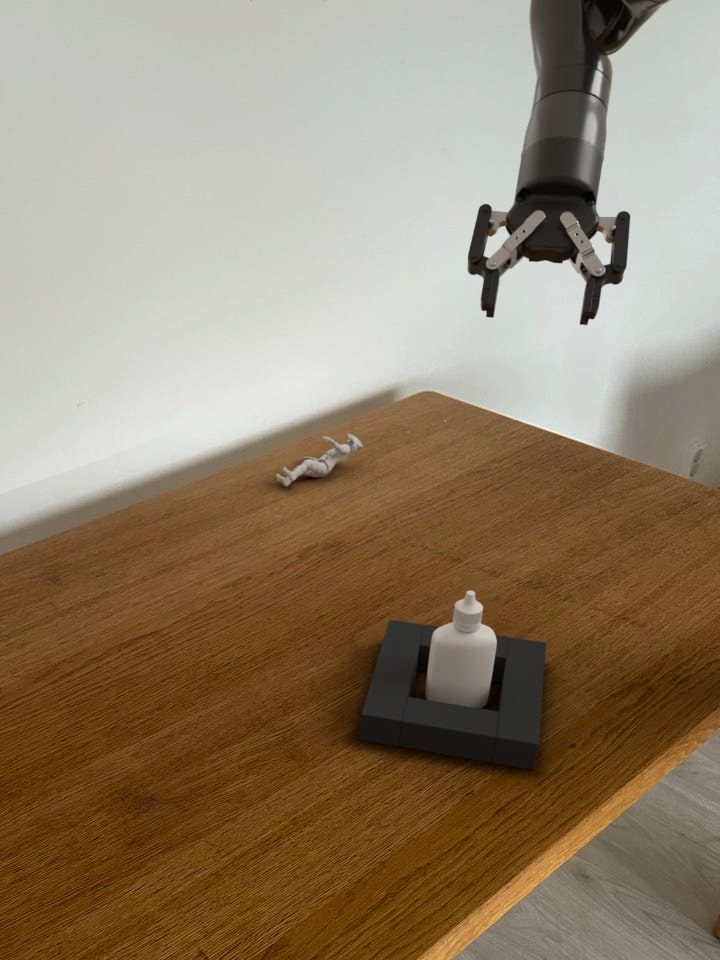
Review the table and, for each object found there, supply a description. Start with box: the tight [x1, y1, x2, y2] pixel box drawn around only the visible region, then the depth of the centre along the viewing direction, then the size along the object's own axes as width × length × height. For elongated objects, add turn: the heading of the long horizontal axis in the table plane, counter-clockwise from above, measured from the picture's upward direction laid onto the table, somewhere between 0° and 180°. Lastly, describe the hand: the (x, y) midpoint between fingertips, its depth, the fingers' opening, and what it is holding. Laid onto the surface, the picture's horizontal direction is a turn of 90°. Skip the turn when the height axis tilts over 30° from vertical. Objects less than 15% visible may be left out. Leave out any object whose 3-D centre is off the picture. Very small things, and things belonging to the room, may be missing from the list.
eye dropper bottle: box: [424, 590, 497, 709], centre depth 90 cm, size 4×6×12 cm
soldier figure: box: [275, 433, 364, 488], centre depth 131 cm, size 8×5×12 cm
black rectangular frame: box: [359, 619, 547, 771], centre depth 93 cm, size 15×15×3 cm
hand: (536, 317), depth 94 cm, fingers open, 8 cm apart
